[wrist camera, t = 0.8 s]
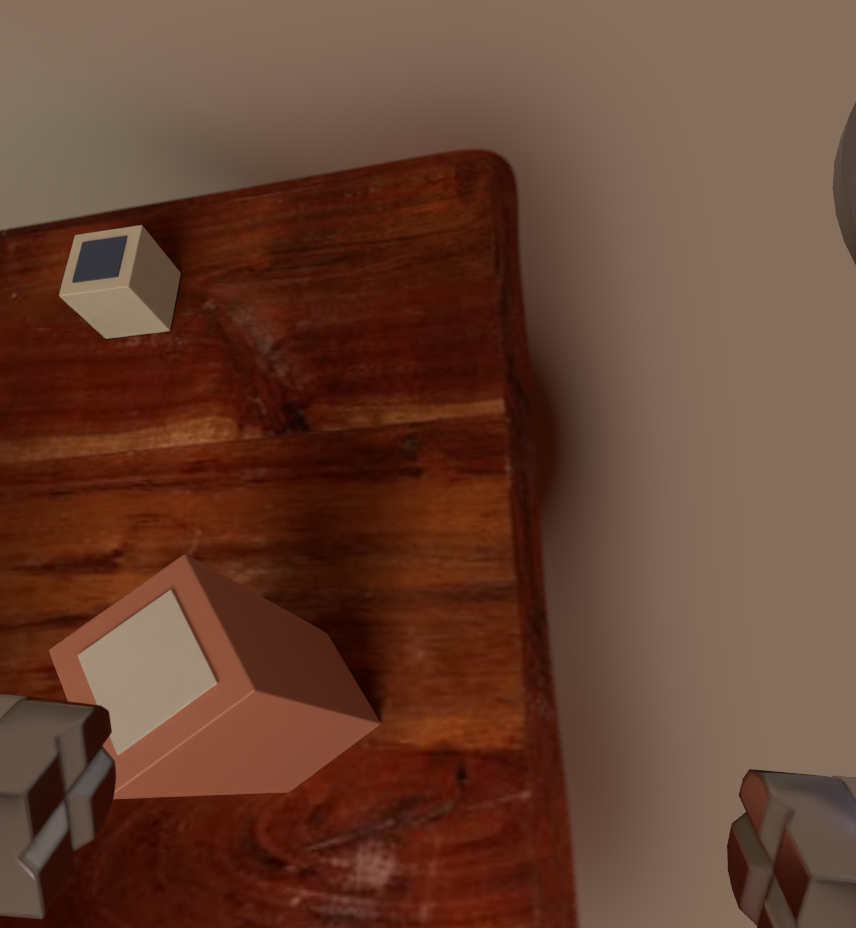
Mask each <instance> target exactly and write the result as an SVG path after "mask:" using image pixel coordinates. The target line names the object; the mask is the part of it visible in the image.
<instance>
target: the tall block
mask: <svg viewBox="0 0 856 928" xmlns="http://www.w3.org/2000/svg"><path fill="white" fill-rule="evenodd" d="M49 652H50V655H51V658H52V660H53V663H54V665H55V668H56V671H57V673H58V676H59V679H60V681H61V684H62V687H63V689H64V692H65V694H66V697H67V700H68V701H70V702H78V703H86V704H94V705H101V706H103V707H104V708H106V709H107V710H108V711H109V715H110V722H111V729H112V733H111V734H110V736H109V737H108V739H107V740H106V741H105V743H104V744H103V745H102V746H103V747H104V748H105V749H106V751H107V752H108V753H109V754H110V755H111V757H112V758H113V759H114V760H115V768H116V783H115V792H114V797H113V799H129V798H154V797H178V796H203V795H228V794H252V793H277V792H290V791H292V790H293V789H294V788H296V787H297V786H298V785H300V784H301V783H302V782H304V781H305V780H306V779H308V778H309V777H310V776H312V775H313V774H314V773H316V772H317V771H318V770H320V769H321V768H322V767H324V766H325V765H327V764H328V763H329V762H331V761H332V760H333V759H335V758H336V757H337V756H339V755H340V754H341V753H343V752H344V751H345V750H347V749H348V748H349V747H351V746H352V745H353V744H355V743H356V742H357V741H359V740H360V739H361V738H363V737H364V736H366V735H367V734H368V733H370V732H371V731H372V730H374V729H375V728H376V727H378V726H379V725H380V724H381V723H380V721H379V719H378V718H377V716H376V714H375V713H374V711H373V709H372V707H371V706H370V704H369V702H368V701H367V699H366V697H365V696H364V694H363V692H362V691H361V689H360V687H359V686H358V684H357V682H356V681H355V679H354V677H353V676H352V674H351V672H350V671H349V669H348V667H347V666H346V664H345V662H344V660H343V659H342V657H341V655H340V654H339V652H338V650H337V649H336V647H335V645H334V644H333V642H332V640H331V639H330V637H329V635H328V634H327V633H326V632H324V631H322V630H320V629H319V628H317V627H315V626H313V625H312V624H310V623H308V622H306V621H304V620H303V619H301V618H299V617H297V616H295V615H294V614H292V613H290V612H288V611H286V610H285V609H283V608H281V607H279V606H277V605H276V604H274V603H272V602H270V601H268V600H267V599H265V598H263V597H261V596H260V595H258V594H256V593H254V592H252V591H251V590H249V589H247V588H245V587H243V586H242V585H240V584H238V583H236V582H234V581H233V580H231V579H229V578H227V577H225V576H224V575H222V574H220V573H218V572H216V571H215V570H213V569H211V568H209V567H208V566H206V565H204V564H202V563H200V562H199V561H197V560H195V559H193V558H191V557H190V556H188V555H186V554H184V555H182V556H181V557H180V558H178V559H177V560H175V561H174V562H172V563H171V564H170V565H168V566H167V567H165V568H164V569H163V570H161V571H160V572H158V573H157V574H155V575H154V576H153V577H151V578H150V579H148V580H147V581H145V582H144V583H143V584H141V585H140V586H138V587H137V588H136V589H134V590H133V591H131V592H130V593H128V594H127V595H126V596H124V597H123V598H121V599H120V600H119V601H117V602H116V603H114V604H113V605H111V606H110V607H109V608H107V609H106V610H104V611H103V612H102V613H100V614H99V615H97V616H96V617H94V618H93V619H92V620H90V621H89V622H87V623H86V624H84V625H83V626H82V627H80V628H79V629H77V630H76V631H75V632H73V633H72V634H70V635H69V636H67V637H66V638H65V639H63V640H62V641H60V642H59V643H58V644H56V645H55V646H53V647H52V648H50V650H49Z"/></svg>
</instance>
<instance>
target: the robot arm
mask: <svg viewBox="0 0 856 928" xmlns="http://www.w3.org/2000/svg"><path fill="white" fill-rule="evenodd" d="M111 733H112V729H111V722H110V715H109V711H108V710H107V709H106V708H104V707H103V706H101V705H94V704H86V703H78V702H70V701H62V700H53V699H45V698H37V697H24V696H16V695H7V694H0V916H11V917H23V918H36V919H43V918H44V916H45V914H46V913H47V911H48V910H49V908H50V907H51V905H52V904H53V902H54V901H55V899H56V897H57V896H58V894H59V893H60V891H61V890H62V888H63V887H64V885H65V883H66V882H67V880H68V879H69V877H70V876H71V874H72V873H73V871H74V862H73V854H72V852H74V851H76V850H77V849H79V848H80V847H82V846H84V845H85V844H87V843H88V842H90V841H91V840H93V839H94V838H95V836H96V835H97V833H98V831H99V830H100V828H101V827H102V825H103V823H104V822H105V820H106V818H107V815H108V812H109V809H110V806H111V803H112V800H113V797H114V792H115V783H116V768H115V760H114V759H113V758H112V757H111V755H110V754H109V753H108V752H107V751H106V749H105V748H104V747H103V746H102V745H103V744H104V743H105V741H106V740H107V739H108V737H109V736H110V734H111ZM739 797H740V799H741V801H742V803H743V806H744V808H745V810H746V812H745V813H744V814H743V815H742V816H741V817H739V818H738V819H737V820H736V821H734V822H733V823H732V825H731V830H730V835H729V840H728V845H727V850H728V851H727V852H728V853H727V854H728V872H729V877H730V882H731V886H732V890H733V893H734V896H735V899H736V901H737V904H738V907H739V909H740V910H741V911H742V912H743V913H744V914H745V915H746V916H747V917H748V918H750V919H751V920H752V921H753V922H754V923H755V924H756V925H757V928H856V778H855V777H841V776H833V777H827V776H817V775H807V774H795V773H785V772H774V771H763V770H752V769H750V770H749V771H748V772H747V774H746V775H745V777H744V778H743V781H742V785H741V789H740V793H739Z"/></svg>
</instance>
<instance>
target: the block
mask: <svg viewBox="0 0 856 928" xmlns="http://www.w3.org/2000/svg"><path fill="white" fill-rule="evenodd" d="M180 275H181V273H180V271H179V270H178V269H177V268H176V267H175V265H174V264H173V263H172V262H171V260H170V259H169V258H168V257H167V255H166V254H165V253H164V252H163V250H162V249H161V248H160V247H159V245H158V244H157V243H156V242H155V241H154V239H153V238H152V237H151V236H150V234H149V233H148V232H147V231H146V229H145V228H144V227H143V226H142V225H139V226H132V227H126V228H119V229H112V230H106V231H99V232H92V233H86V234H79V235H75V237H74V241H73V245H72V248H71V252H70V256H69V260H68V263H67V267H66V271H65V275H64V278H63V282H62V286H61V289H60V293H59V297H61V298H62V299H63V300H64V301H65V302H66V303H67V304H68V305H69V306H70V307H72V308H73V309H74V310H75V311H76V312H77V313H78V314H79V315H80V316H81V317H83V318H84V319H85V320H86V321H87V322H88V323H89V324H90V325H91V326H92V327H93V328H95V329H96V330H97V331H98V332H99V333H100V334H101V335H102V336H103V337H104V338H106V339H108V338H116V337H125V336H133V335H142V334H150V333H159V332H167V331H170V328H171V323H172V318H173V312H174V307H175V302H176V296H177V291H178V286H179V280H180Z"/></svg>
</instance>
